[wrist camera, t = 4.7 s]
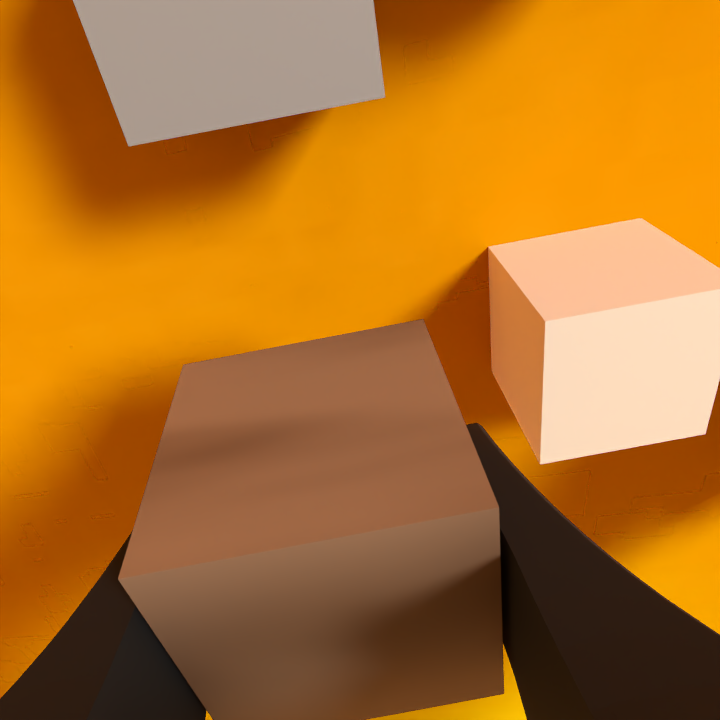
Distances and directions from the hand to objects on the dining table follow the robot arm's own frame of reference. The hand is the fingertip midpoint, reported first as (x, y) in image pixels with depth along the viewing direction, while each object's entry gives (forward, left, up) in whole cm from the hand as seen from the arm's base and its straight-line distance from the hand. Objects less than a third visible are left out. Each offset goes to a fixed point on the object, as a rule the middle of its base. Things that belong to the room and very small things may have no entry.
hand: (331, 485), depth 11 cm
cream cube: (-6, -6, -8) cm, 12 cm away
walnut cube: (0, 0, -2) cm, 2 cm away
